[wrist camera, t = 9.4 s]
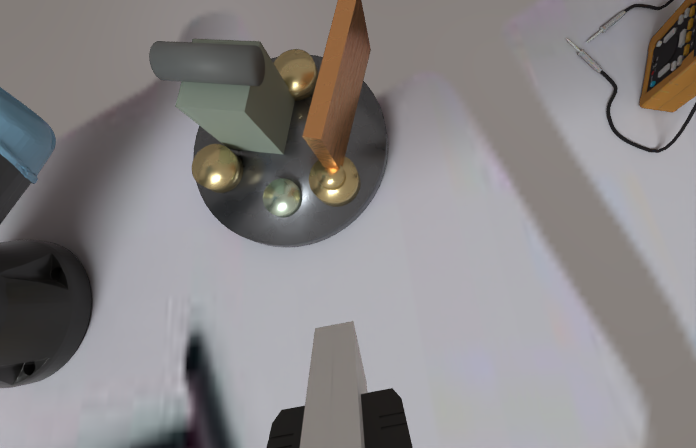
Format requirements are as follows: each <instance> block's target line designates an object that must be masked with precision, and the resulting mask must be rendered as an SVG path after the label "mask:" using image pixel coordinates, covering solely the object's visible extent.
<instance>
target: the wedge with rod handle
mask: <svg viewBox="0 0 696 448" xmlns="http://www.w3.org/2000/svg"><path fill="white" fill-rule="evenodd" d="M149 57H150V64H151V67H152V70H153V72H154V74H155V75H156V76H157V77H158V78H159V79H161V80H169V81H182V82H181V86H180V90H179V94H178V98H177V102H176V107H177V108H178V109H179V110H181V111H182V112H183V113H184V114H186V115H187V116H188V117H189V118H191V119H192V120H193V121H195V122H196V123H197V124H198V125H200V126H201V127H202V128H203V129H205V130H206V131H207V132H208V133H210V134H211V135H212V136H213V137H215V138H216V139H217V140H218V141H220V142H221V143H222V144H223V145H225V146H226V147H227V148H228V149H235V150H245V151H254V152H264V153H274V154H284V151H285V146H286V141H287V136H288V131H289V127H290V122H291V117H292V112H293V107H294V102H295V100H294V99H293V97H292V95H291V94H290V92H289V88H288V86H287V85H286V83H285V81H284V80H283V78H282V76H281V75H280V73H279V72H278V70H277V68H276V67H275V65H274V63H273V62H272V60H271V58H270V57H269V55H268V54H267V52H266V50H265V49H264V47H263V45H262V44H261V42H259V41H234V40H209V39H193V40H192V43H188V42H163V41H157V42H155V43H154V44H153V45H152V47H151V49H150V56H149Z"/></svg>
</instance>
